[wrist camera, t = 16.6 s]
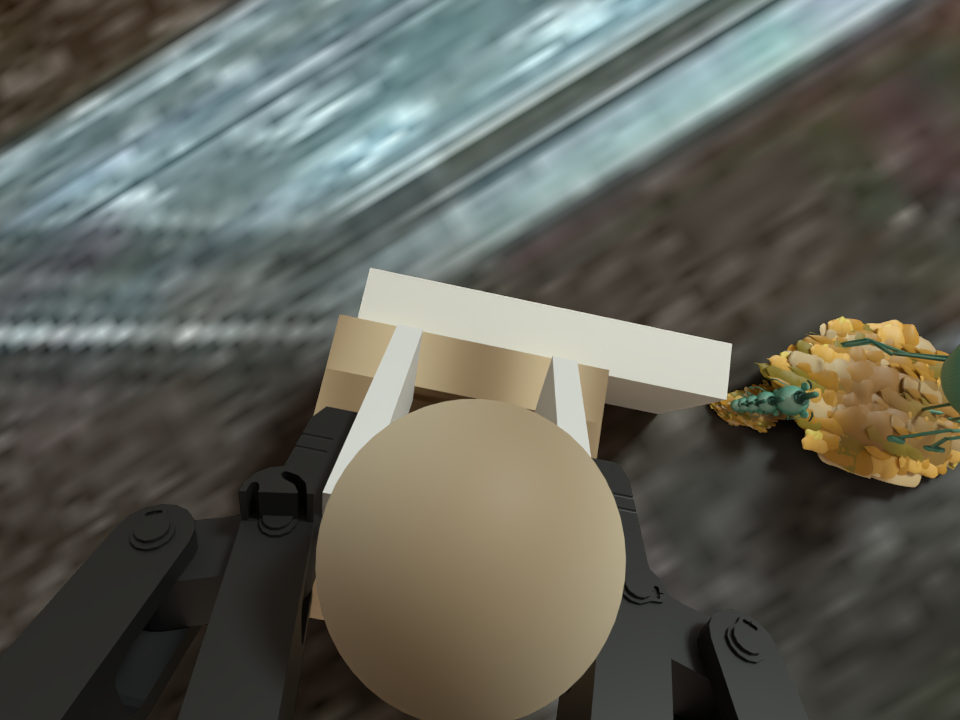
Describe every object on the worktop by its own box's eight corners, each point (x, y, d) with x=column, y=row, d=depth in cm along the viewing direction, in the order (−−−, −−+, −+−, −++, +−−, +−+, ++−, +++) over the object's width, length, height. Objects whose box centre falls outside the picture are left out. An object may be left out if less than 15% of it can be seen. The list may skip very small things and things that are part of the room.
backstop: (376, 356, 28) (356, 323, 21) (386, 313, 29) (370, 267, 22) (658, 414, 29) (726, 399, 22) (663, 371, 29) (731, 343, 22)
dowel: (390, 536, 20) (279, 699, 6) (411, 433, 21) (356, 374, 7) (492, 554, 20) (606, 752, 6) (509, 451, 21) (641, 427, 7)
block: (316, 563, 26) (263, 609, 18) (367, 354, 28) (339, 314, 20) (529, 603, 26) (567, 664, 18) (562, 394, 28) (609, 370, 21)
